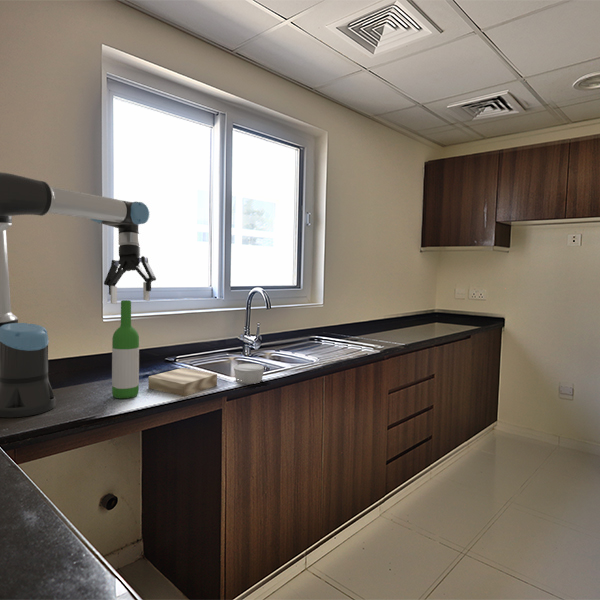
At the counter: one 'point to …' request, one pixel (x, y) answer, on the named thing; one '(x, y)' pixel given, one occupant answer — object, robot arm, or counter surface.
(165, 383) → the birch base
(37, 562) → the counter surface
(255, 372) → the ramekin
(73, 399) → the counter surface
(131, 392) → the wine bottle
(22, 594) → the counter surface
